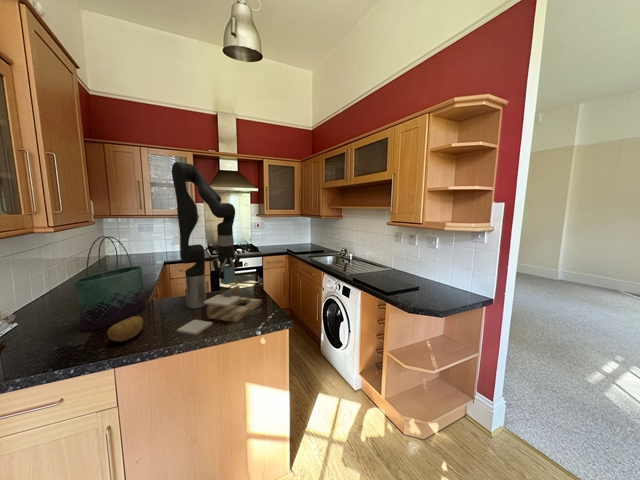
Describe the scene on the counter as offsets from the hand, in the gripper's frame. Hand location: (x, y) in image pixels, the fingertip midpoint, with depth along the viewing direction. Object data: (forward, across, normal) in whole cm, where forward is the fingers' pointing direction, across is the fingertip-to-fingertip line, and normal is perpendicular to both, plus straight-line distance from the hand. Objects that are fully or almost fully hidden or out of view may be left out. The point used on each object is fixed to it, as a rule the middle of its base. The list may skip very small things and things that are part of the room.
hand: (227, 277), depth 127 cm
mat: (+18, +18, +4) cm, 26 cm away
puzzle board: (+18, -4, 0) cm, 19 cm away
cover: (+9, +5, +5) cm, 12 cm away
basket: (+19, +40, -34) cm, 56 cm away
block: (+2, 0, 0) cm, 2 cm away
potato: (+19, +41, -7) cm, 45 cm away
